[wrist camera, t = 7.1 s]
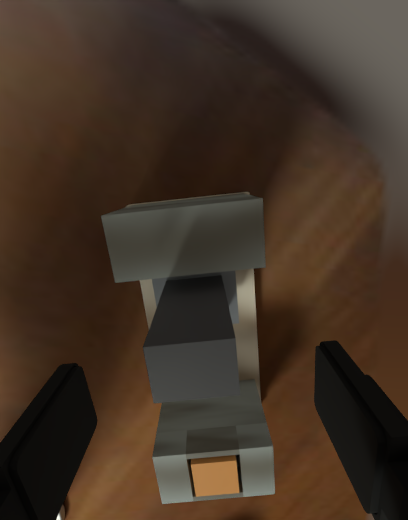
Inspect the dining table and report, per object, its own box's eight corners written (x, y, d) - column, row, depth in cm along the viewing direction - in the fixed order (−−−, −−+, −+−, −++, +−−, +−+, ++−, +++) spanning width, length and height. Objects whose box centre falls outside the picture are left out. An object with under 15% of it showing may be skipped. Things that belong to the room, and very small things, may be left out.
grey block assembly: (258, 406, 29) (281, 493, 21) (168, 415, 29) (156, 504, 21) (246, 191, 23) (271, 197, 15) (130, 204, 23) (92, 216, 15)
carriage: (233, 302, 24) (262, 410, 12) (166, 308, 24) (136, 422, 13) (229, 247, 22) (257, 314, 11) (158, 255, 22) (115, 329, 11)
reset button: (235, 464, 23) (239, 492, 21) (196, 467, 23) (196, 496, 21) (232, 433, 22) (236, 460, 20) (191, 437, 22) (190, 464, 20)
